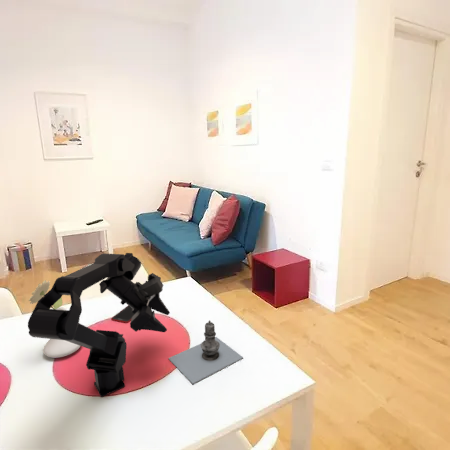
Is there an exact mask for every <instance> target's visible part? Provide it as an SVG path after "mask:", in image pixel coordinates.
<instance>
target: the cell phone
mask: <svg viewBox="0 0 450 450" xmlns="http://www.w3.org/2000/svg"><path fill="white" fill-rule="evenodd" d="M132 310H133V308H131V307H130V306H129V305H127V306H126V307H124V308H123V309H121V310H120V311H119V312H117V313H116V314H115V315H114V316H112V317H111V318H110V319H111V322H112V321H113V322H117V323H122V324H130V322H131V319H132V317H133V316H134V315H135V314H136V313H137V312H138V311H137V312H136V313H135V314H134V313H133V312H132Z"/></svg>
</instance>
